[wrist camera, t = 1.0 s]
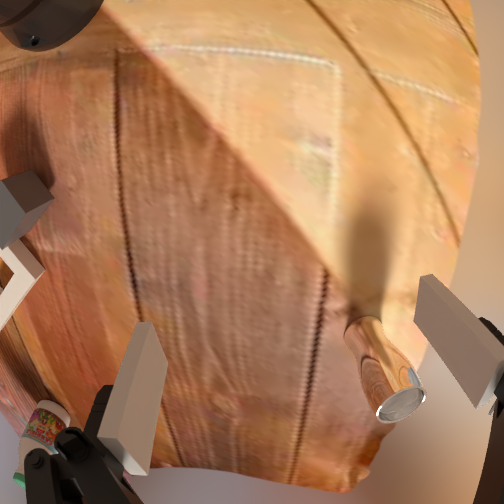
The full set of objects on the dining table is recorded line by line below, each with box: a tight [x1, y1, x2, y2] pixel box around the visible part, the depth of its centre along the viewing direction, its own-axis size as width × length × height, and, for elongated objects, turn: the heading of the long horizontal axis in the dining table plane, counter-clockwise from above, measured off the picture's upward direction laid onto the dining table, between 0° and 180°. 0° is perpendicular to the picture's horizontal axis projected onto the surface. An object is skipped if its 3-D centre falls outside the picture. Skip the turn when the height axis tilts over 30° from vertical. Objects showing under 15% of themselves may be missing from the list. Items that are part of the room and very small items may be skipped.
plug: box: [0, 170, 54, 250], centre depth 30 cm, size 5×6×8 cm
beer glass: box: [344, 316, 426, 423], centre depth 37 cm, size 7×7×15 cm
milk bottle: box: [13, 400, 70, 489], centre depth 40 cm, size 8×8×20 cm
